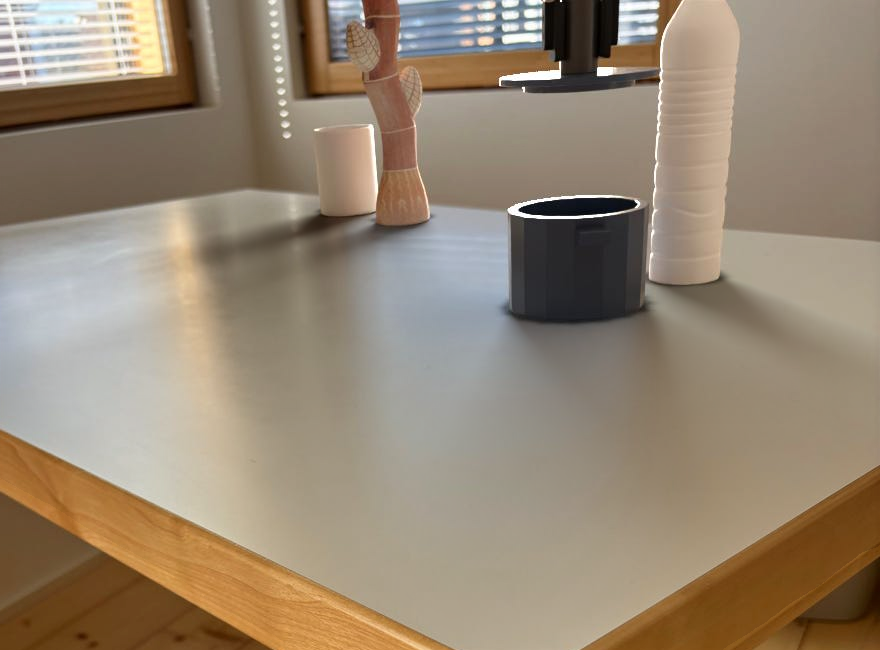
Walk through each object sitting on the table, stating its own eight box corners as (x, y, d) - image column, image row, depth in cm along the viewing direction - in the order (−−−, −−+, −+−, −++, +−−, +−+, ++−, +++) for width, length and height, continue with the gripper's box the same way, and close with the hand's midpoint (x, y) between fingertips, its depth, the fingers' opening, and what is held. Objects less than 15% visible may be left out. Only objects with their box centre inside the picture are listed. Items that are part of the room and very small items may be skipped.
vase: (421, 213, 143) (407, -44, 128) (442, 220, 137) (430, -50, 122) (350, 223, 140) (327, -40, 125) (368, 230, 134) (346, -45, 119)
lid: (639, 79, 88) (644, -13, 84) (677, 86, 77) (684, -18, 74) (492, 90, 88) (490, -1, 85) (508, 99, 77) (508, -5, 74)
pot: (621, 283, 98) (625, 187, 94) (664, 328, 84) (671, 217, 79) (500, 292, 99) (498, 197, 94) (522, 338, 84) (521, 228, 80)
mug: (387, 211, 147) (381, 126, 141) (329, 218, 145) (321, 132, 139) (362, 202, 157) (356, 121, 151) (308, 208, 155) (300, 127, 149)
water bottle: (716, 288, 94) (743, -38, 81) (643, 287, 96) (659, -30, 84) (724, 268, 101) (750, -35, 88) (656, 268, 103) (673, -28, 91)
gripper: (688, -239, 75) (671, 51, 84) (464, -221, 75) (472, 65, 85) (718, -264, 69) (695, 53, 78) (473, -245, 69) (480, 69, 78)
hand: (579, 57), depth 81 cm, fingers closed on lid, 3 cm apart
